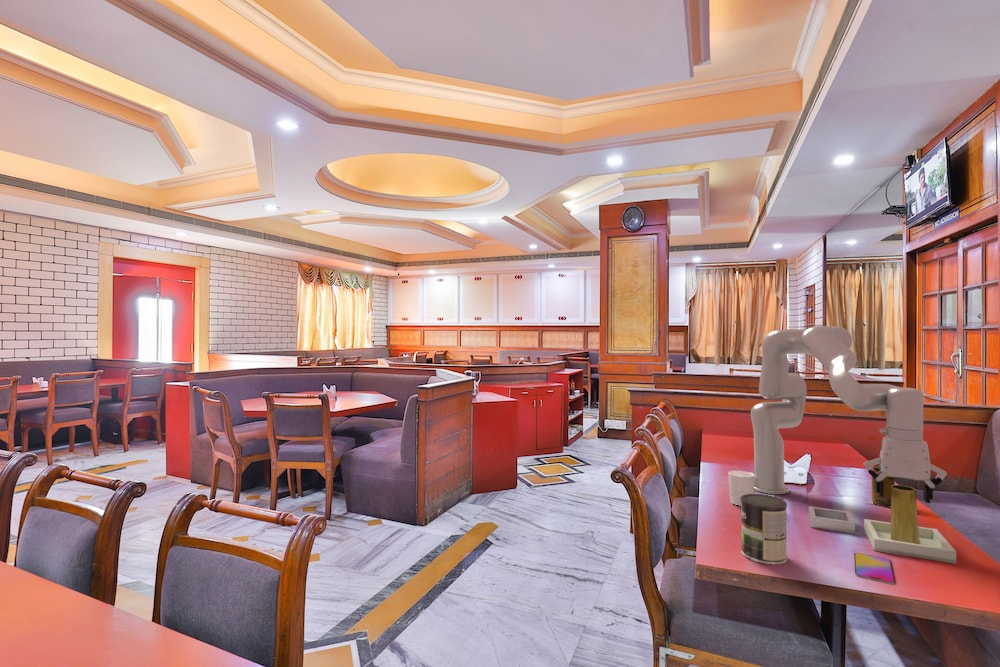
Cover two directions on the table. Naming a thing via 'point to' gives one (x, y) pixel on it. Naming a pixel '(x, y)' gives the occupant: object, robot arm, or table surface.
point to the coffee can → (764, 528)
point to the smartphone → (873, 568)
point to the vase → (904, 514)
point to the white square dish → (831, 520)
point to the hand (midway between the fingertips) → (903, 498)
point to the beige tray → (929, 547)
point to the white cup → (740, 485)
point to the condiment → (887, 490)
